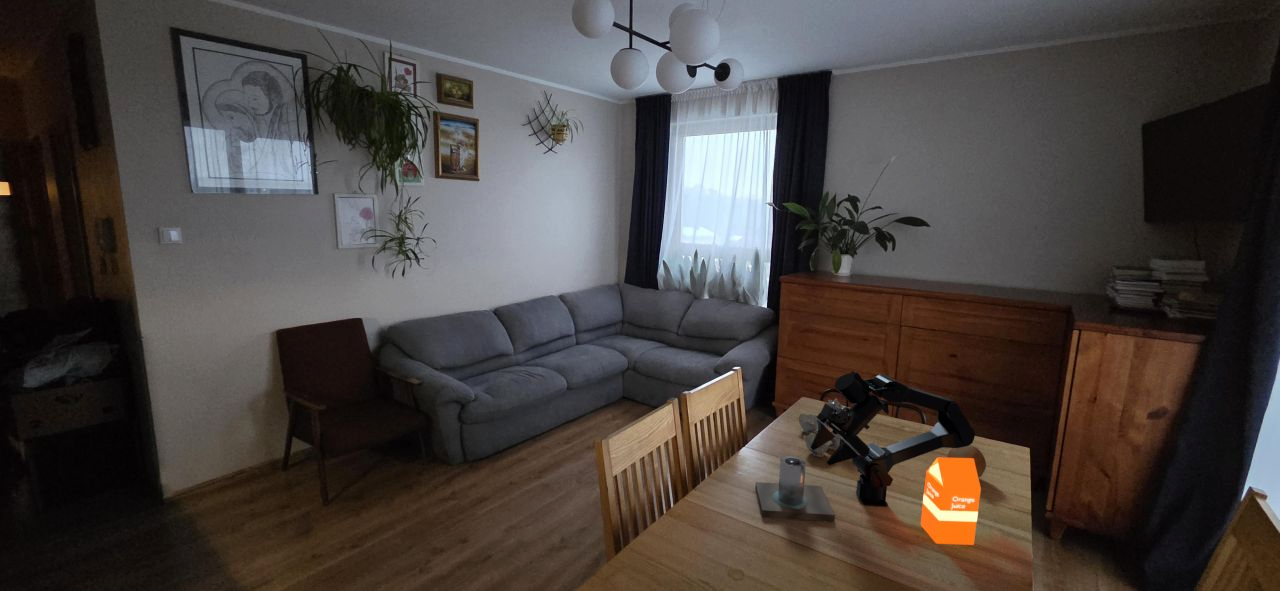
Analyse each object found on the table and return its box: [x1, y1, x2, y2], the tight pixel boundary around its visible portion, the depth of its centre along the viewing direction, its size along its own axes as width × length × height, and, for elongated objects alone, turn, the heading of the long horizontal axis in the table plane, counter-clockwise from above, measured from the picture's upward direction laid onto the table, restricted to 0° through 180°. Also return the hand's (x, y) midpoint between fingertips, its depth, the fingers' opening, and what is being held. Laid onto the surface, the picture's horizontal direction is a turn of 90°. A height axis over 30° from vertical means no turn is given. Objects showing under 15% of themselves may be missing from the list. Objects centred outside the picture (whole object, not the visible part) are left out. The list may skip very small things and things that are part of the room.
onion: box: [946, 444, 987, 479], centre depth 152 cm, size 10×10×10 cm
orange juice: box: [920, 456, 982, 546], centre depth 124 cm, size 8×9×20 cm
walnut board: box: [754, 481, 836, 523], centre depth 138 cm, size 18×14×2 cm
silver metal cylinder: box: [778, 455, 806, 506], centre depth 136 cm, size 6×6×11 cm
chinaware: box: [796, 398, 846, 458], centre depth 174 cm, size 28×17×17 cm, turn 175°
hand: (819, 456), depth 136 cm, fingers open, 9 cm apart
